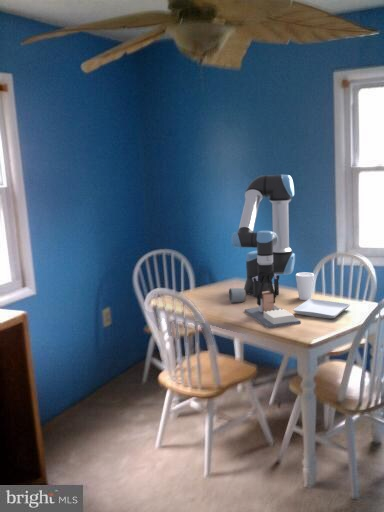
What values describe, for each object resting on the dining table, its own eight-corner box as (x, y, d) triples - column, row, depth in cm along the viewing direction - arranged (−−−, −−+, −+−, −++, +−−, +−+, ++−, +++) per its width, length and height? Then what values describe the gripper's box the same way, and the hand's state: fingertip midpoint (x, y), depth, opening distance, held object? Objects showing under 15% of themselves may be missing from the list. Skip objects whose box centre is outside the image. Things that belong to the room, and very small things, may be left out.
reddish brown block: (259, 310, 259) (258, 292, 257) (268, 308, 260) (268, 291, 259) (264, 313, 253) (263, 295, 252) (273, 312, 254) (273, 293, 253)
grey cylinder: (247, 303, 278) (246, 288, 277) (231, 304, 277) (231, 290, 275) (241, 298, 288) (241, 284, 287) (227, 299, 287) (226, 285, 286)
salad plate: (335, 322, 241) (335, 315, 240) (292, 316, 253) (291, 309, 252) (350, 310, 258) (350, 303, 257) (309, 305, 270) (309, 298, 269)
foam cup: (310, 301, 275) (310, 276, 273) (293, 299, 280) (293, 275, 277) (316, 296, 283) (316, 273, 281) (299, 295, 288) (299, 271, 285)
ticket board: (244, 311, 263) (244, 303, 262) (274, 307, 267) (274, 299, 266) (268, 328, 236) (267, 318, 235) (300, 323, 241) (300, 314, 240)
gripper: (250, 266, 246) (252, 315, 251) (286, 263, 251) (286, 310, 256) (244, 264, 254) (246, 311, 258) (279, 260, 258) (280, 306, 263)
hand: (266, 310), depth 257 cm, fingers closed on reddish brown block, 5 cm apart
